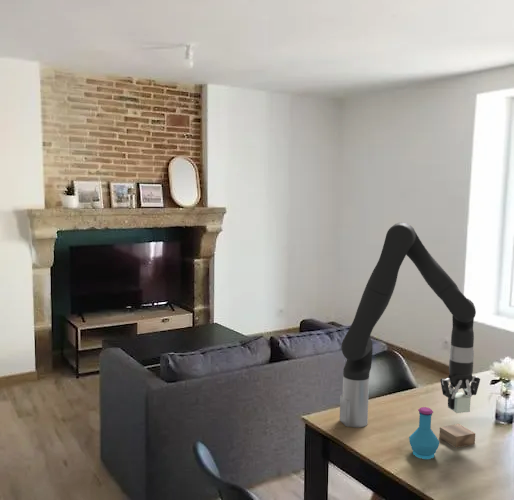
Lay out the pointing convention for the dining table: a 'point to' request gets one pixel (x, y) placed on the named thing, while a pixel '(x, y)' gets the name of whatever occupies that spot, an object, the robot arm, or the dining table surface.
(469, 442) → the brown wooden block
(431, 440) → the perfume bottle
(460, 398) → the sage cube
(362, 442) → the dining table surface
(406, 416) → the dining table surface
